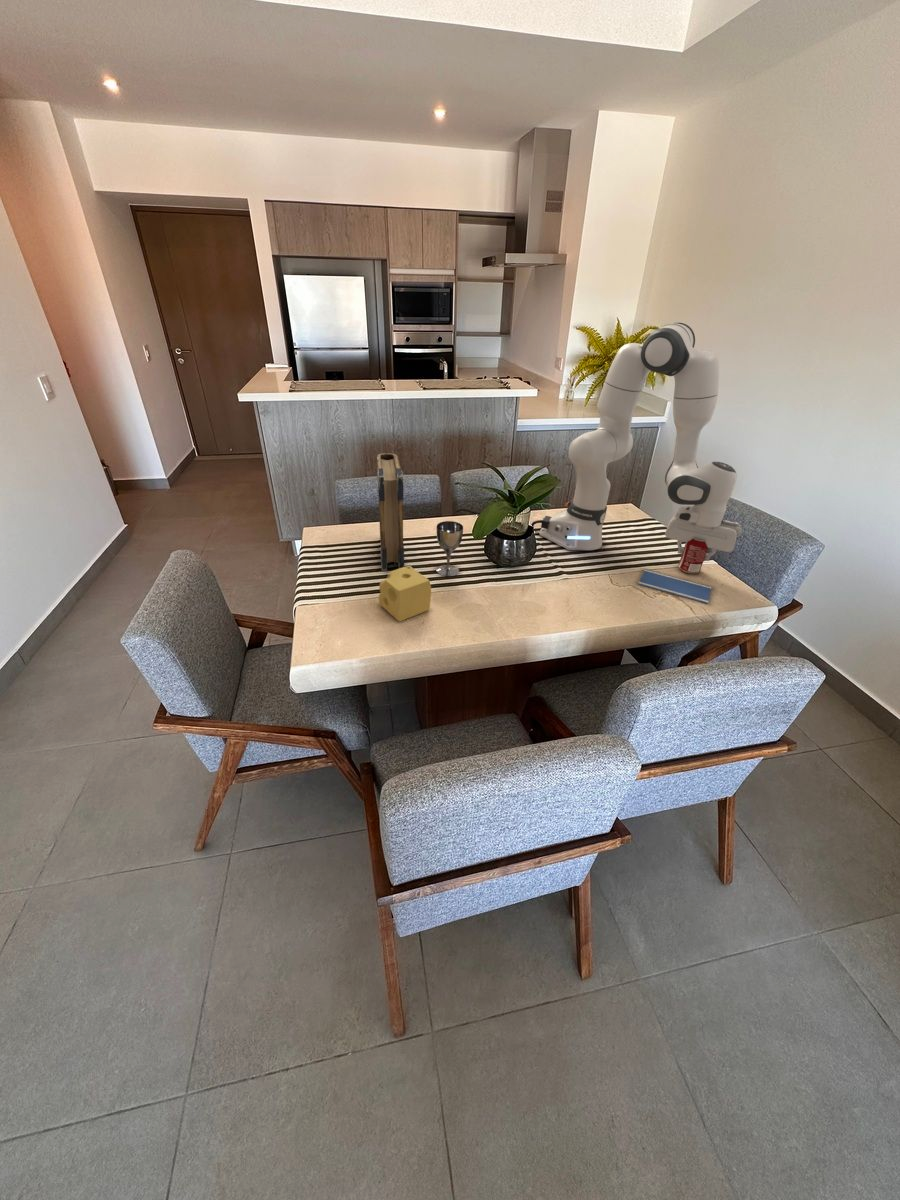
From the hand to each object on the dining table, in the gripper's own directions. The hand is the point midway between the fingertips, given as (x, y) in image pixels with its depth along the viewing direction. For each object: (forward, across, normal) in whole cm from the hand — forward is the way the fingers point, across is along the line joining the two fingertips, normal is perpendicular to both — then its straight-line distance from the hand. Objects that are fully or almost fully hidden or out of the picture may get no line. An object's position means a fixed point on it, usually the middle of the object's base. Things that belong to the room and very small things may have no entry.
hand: (693, 556), depth 160 cm
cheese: (+5, +65, +69) cm, 95 cm away
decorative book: (+5, +87, +44) cm, 98 cm away
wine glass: (+5, +66, +44) cm, 79 cm away
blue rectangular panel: (+5, +2, +14) cm, 15 cm away
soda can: (+5, 0, 0) cm, 5 cm away
